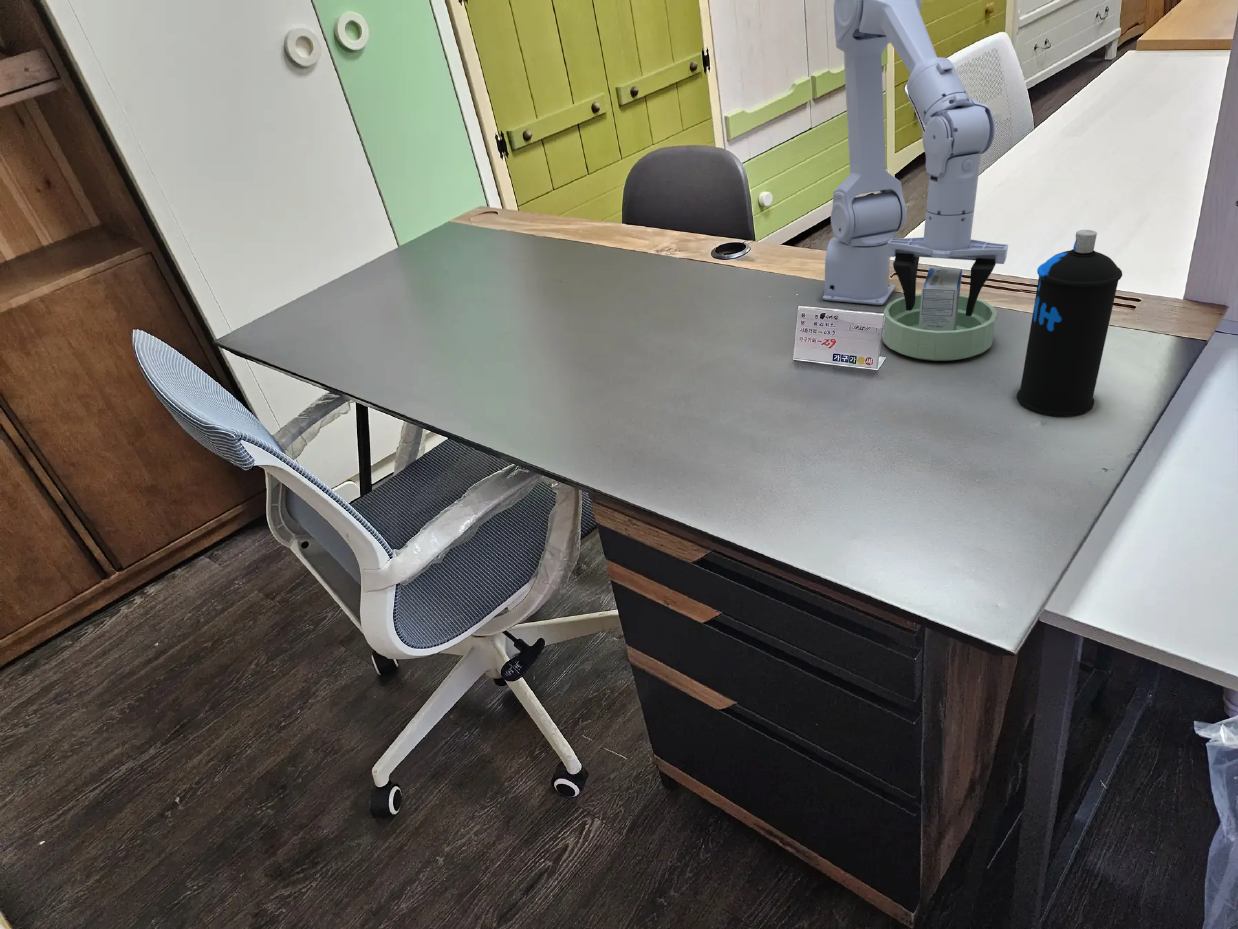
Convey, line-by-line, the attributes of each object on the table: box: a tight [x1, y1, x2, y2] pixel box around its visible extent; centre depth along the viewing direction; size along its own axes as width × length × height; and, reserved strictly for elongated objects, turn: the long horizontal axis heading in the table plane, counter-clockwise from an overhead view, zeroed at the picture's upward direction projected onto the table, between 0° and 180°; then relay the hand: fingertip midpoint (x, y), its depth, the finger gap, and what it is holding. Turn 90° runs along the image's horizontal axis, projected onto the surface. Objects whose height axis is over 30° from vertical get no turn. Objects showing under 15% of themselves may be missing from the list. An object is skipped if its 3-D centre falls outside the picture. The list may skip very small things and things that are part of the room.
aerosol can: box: [1016, 229, 1123, 417], centre depth 94 cm, size 8×8×20 cm
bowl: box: [882, 292, 998, 362], centre depth 115 cm, size 14×14×4 cm
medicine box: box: [919, 267, 963, 331], centre depth 114 cm, size 8×4×9 cm, turn 157°
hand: (939, 310), depth 114 cm, fingers open, 7 cm apart
